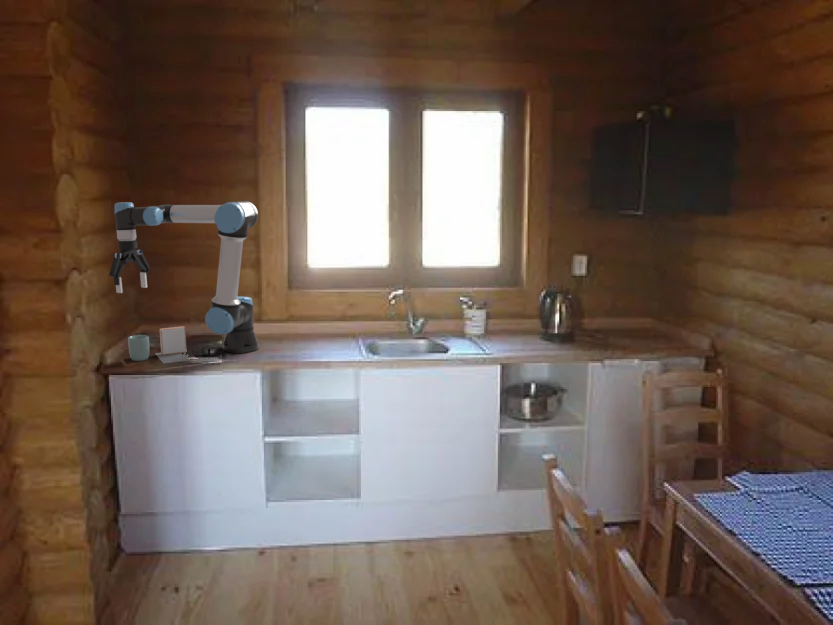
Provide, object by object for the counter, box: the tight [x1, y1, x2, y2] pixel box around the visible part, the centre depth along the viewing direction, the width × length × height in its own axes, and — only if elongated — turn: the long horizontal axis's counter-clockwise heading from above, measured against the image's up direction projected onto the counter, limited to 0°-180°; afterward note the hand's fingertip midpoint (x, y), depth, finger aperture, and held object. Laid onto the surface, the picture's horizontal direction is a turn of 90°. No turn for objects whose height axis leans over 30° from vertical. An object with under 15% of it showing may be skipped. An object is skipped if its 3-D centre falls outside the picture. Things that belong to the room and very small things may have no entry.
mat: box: [154, 352, 190, 365], centre depth 309 cm, size 18×14×1 cm
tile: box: [159, 325, 188, 355], centre depth 312 cm, size 2×10×11 cm, turn 119°
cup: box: [127, 334, 150, 362], centre depth 304 cm, size 8×8×10 cm
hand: (132, 290), depth 314 cm, fingers open, 13 cm apart
